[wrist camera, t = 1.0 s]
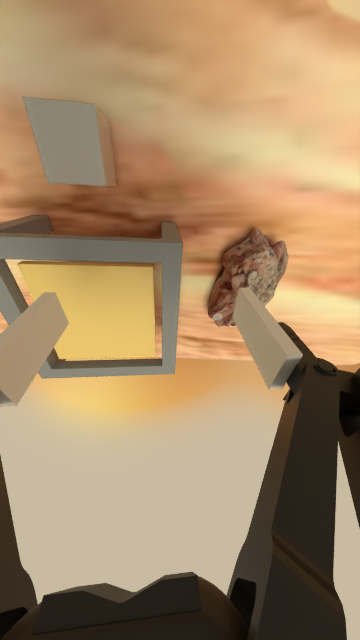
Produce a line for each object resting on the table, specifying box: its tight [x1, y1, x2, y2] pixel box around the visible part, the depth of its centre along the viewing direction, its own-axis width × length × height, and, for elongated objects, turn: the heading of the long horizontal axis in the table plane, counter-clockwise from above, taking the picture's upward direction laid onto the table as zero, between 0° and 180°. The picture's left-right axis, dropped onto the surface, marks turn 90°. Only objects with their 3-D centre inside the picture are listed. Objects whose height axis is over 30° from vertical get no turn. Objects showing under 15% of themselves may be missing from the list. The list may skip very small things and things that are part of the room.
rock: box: [208, 230, 288, 327], centre depth 30 cm, size 16×11×15 cm
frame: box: [0, 215, 183, 378], centre depth 28 cm, size 20×20×12 cm
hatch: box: [17, 261, 156, 359], centre depth 24 cm, size 14×14×1 cm
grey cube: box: [22, 96, 117, 186], centre depth 20 cm, size 6×6×6 cm
